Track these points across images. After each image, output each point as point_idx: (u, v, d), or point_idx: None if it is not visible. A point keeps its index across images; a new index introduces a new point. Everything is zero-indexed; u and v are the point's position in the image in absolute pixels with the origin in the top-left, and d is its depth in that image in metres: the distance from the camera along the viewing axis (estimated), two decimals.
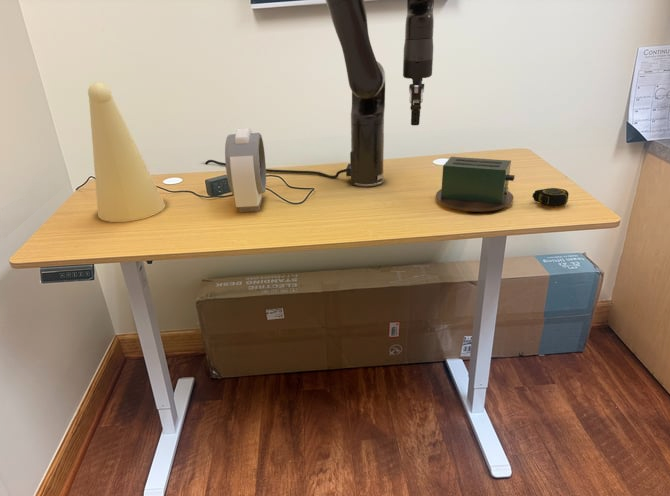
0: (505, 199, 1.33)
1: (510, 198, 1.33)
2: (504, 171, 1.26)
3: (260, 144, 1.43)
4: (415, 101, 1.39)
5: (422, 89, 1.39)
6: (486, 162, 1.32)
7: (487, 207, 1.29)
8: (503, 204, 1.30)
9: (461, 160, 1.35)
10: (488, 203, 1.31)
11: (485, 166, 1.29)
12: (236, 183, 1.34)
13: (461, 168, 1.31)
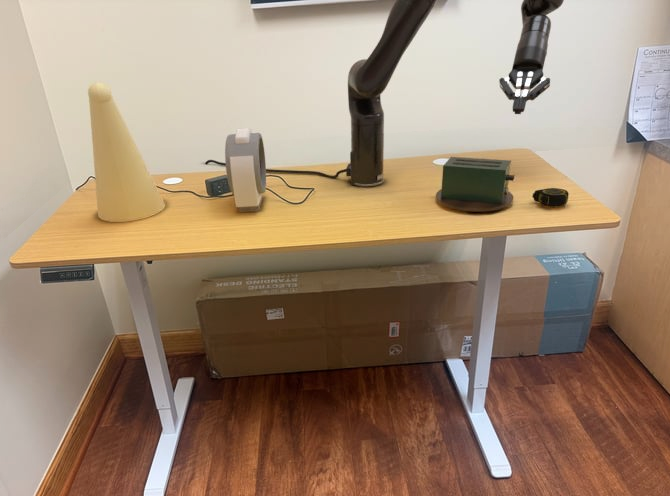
0: (505, 199, 1.33)
1: (510, 198, 1.33)
2: (504, 171, 1.26)
3: (260, 144, 1.43)
4: None
5: None
6: (486, 162, 1.32)
7: (487, 207, 1.29)
8: (503, 204, 1.30)
9: (461, 160, 1.35)
10: (488, 203, 1.31)
11: (485, 166, 1.29)
12: (236, 183, 1.34)
13: (461, 168, 1.31)
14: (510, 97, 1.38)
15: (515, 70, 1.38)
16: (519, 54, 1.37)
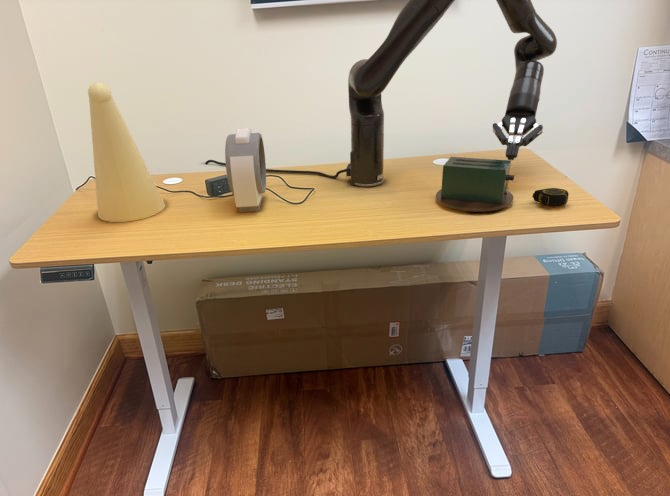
0: (505, 199, 1.33)
1: (510, 198, 1.33)
2: (504, 171, 1.26)
3: (260, 144, 1.43)
4: None
5: None
6: (486, 162, 1.32)
7: (487, 207, 1.29)
8: (503, 204, 1.30)
9: (461, 160, 1.35)
10: (488, 203, 1.31)
11: (485, 166, 1.29)
12: (236, 183, 1.34)
13: (461, 168, 1.31)
14: (503, 142, 1.39)
15: (508, 116, 1.39)
16: (512, 100, 1.38)
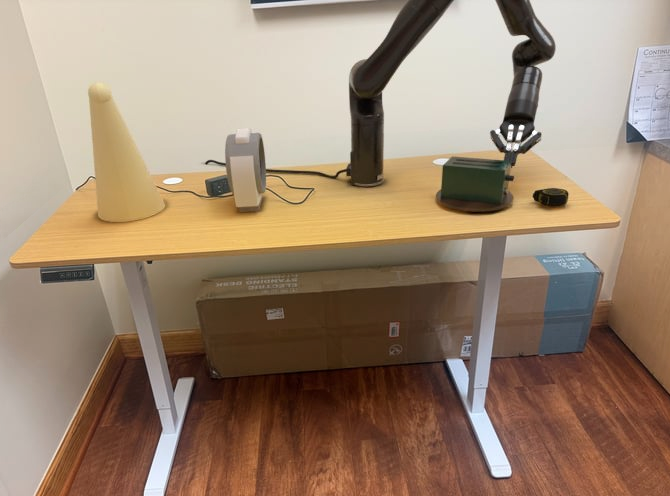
0: (505, 199, 1.33)
1: (510, 198, 1.33)
2: (503, 171, 1.26)
3: (260, 144, 1.43)
4: None
5: None
6: (486, 162, 1.32)
7: (486, 207, 1.29)
8: (502, 204, 1.30)
9: (461, 160, 1.35)
10: (487, 203, 1.31)
11: (484, 166, 1.29)
12: (236, 183, 1.34)
13: (460, 168, 1.31)
14: (501, 150, 1.36)
15: (506, 122, 1.36)
16: (510, 107, 1.35)
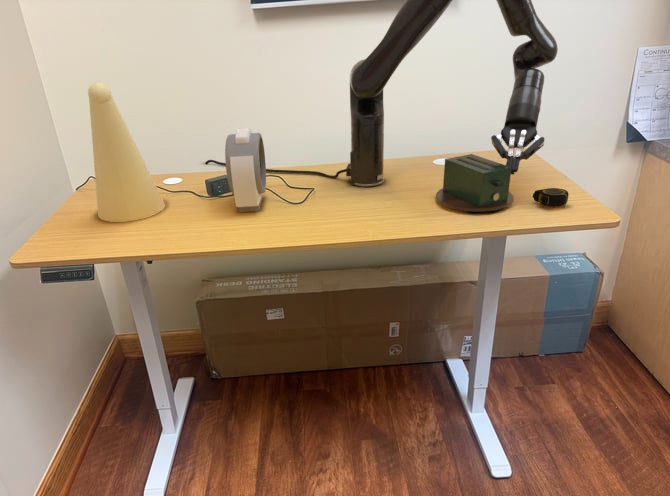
0: (492, 205, 1.30)
1: (498, 205, 1.29)
2: (482, 174, 1.25)
3: (260, 144, 1.43)
4: None
5: None
6: (485, 164, 1.31)
7: (461, 206, 1.30)
8: (480, 208, 1.29)
9: (470, 158, 1.36)
10: (469, 204, 1.31)
11: (475, 166, 1.30)
12: (236, 183, 1.34)
13: (455, 164, 1.34)
14: (503, 156, 1.32)
15: (507, 127, 1.32)
16: (511, 111, 1.31)
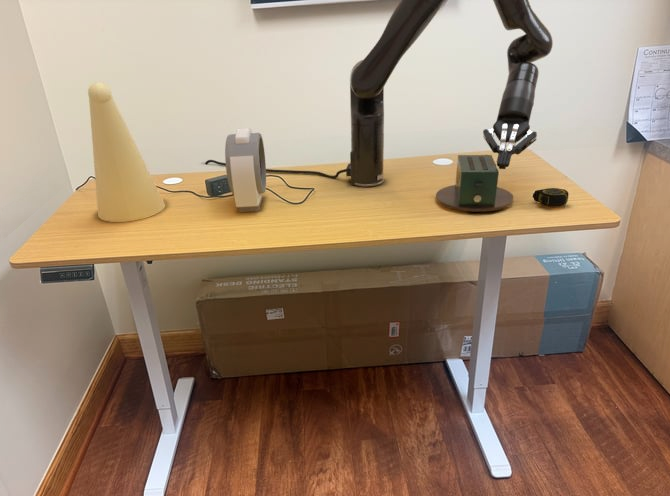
0: (473, 206, 1.30)
1: (478, 207, 1.29)
2: (461, 173, 1.27)
3: (260, 144, 1.43)
4: None
5: None
6: (481, 165, 1.30)
7: (444, 201, 1.34)
8: (458, 206, 1.31)
9: (480, 158, 1.36)
10: (455, 201, 1.34)
11: (467, 165, 1.31)
12: (236, 183, 1.34)
13: (458, 161, 1.36)
14: (494, 150, 1.29)
15: (500, 121, 1.30)
16: (504, 105, 1.29)
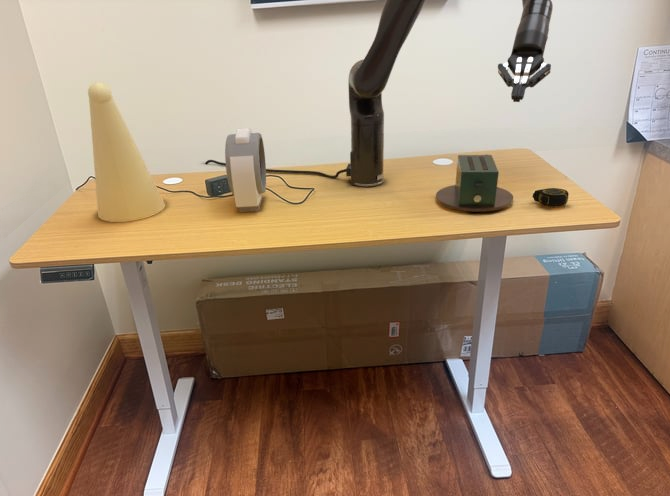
0: (473, 206, 1.30)
1: (478, 207, 1.29)
2: (461, 173, 1.27)
3: (260, 144, 1.43)
4: None
5: None
6: (481, 165, 1.30)
7: (444, 201, 1.34)
8: (458, 206, 1.31)
9: (480, 158, 1.36)
10: (455, 201, 1.34)
11: (467, 165, 1.31)
12: (236, 183, 1.34)
13: (458, 161, 1.36)
14: (509, 84, 1.32)
15: (514, 55, 1.32)
16: (519, 38, 1.31)
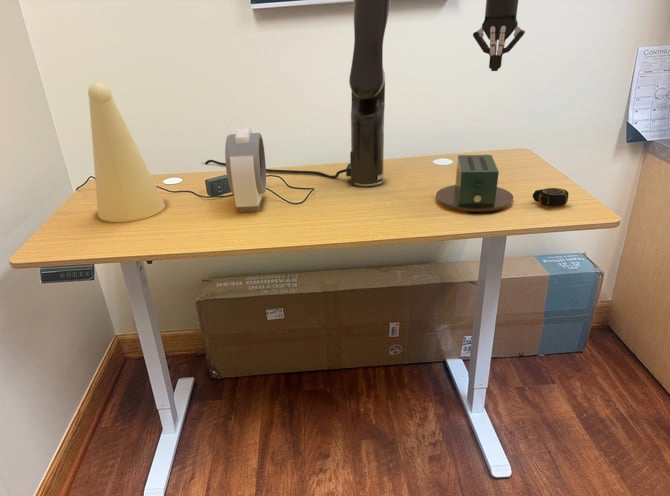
0: (473, 206, 1.30)
1: (478, 207, 1.29)
2: (461, 173, 1.27)
3: (260, 144, 1.43)
4: None
5: None
6: (481, 165, 1.30)
7: (444, 201, 1.34)
8: (458, 206, 1.31)
9: (480, 158, 1.36)
10: (455, 201, 1.34)
11: (467, 165, 1.31)
12: (236, 183, 1.34)
13: (458, 161, 1.36)
14: (486, 52, 1.38)
15: (488, 21, 1.33)
16: (489, 6, 1.30)
